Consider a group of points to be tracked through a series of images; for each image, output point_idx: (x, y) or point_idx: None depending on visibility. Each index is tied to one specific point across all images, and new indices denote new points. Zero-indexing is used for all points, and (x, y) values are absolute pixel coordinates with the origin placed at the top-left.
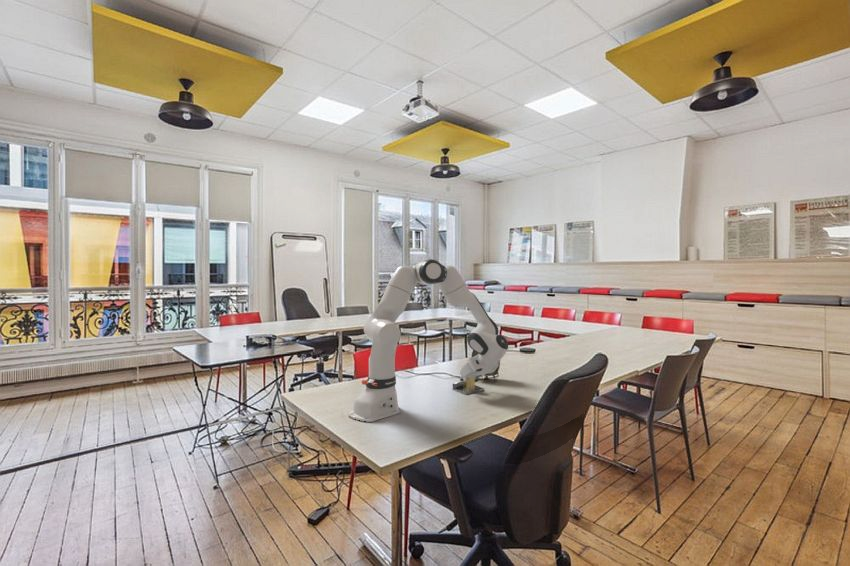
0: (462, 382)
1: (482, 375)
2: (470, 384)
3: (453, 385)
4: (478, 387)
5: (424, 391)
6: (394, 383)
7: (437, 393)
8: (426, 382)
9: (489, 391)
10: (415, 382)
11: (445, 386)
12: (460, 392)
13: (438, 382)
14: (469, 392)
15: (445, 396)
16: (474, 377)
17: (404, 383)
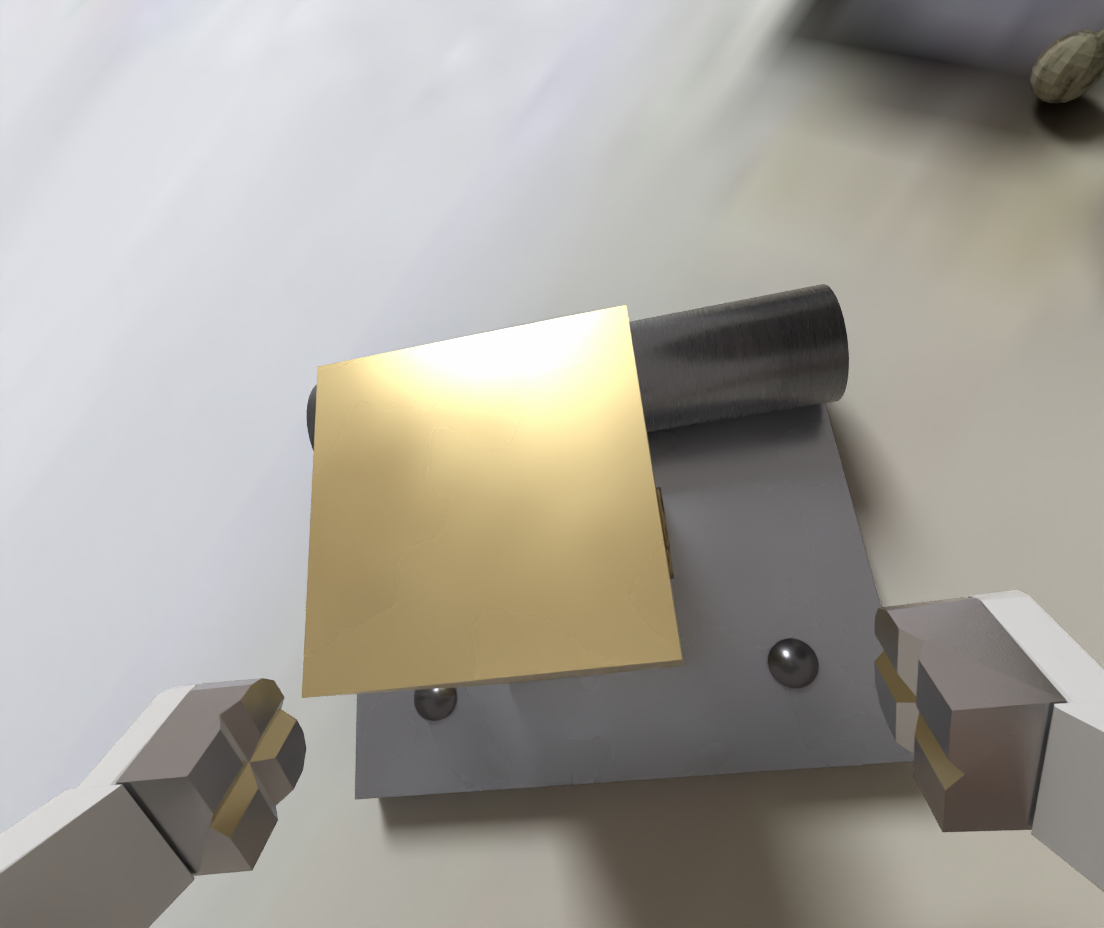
0: None
1: (1058, 844)
2: (535, 679)
3: None
4: (822, 613)
5: (58, 331)
6: None
7: (108, 479)
8: (309, 26)
9: (1005, 894)
10: (216, 3)
11: (397, 234)
12: None
13: (429, 56)
14: (467, 790)
15: (88, 670)
16: (670, 664)
17: (112, 12)
